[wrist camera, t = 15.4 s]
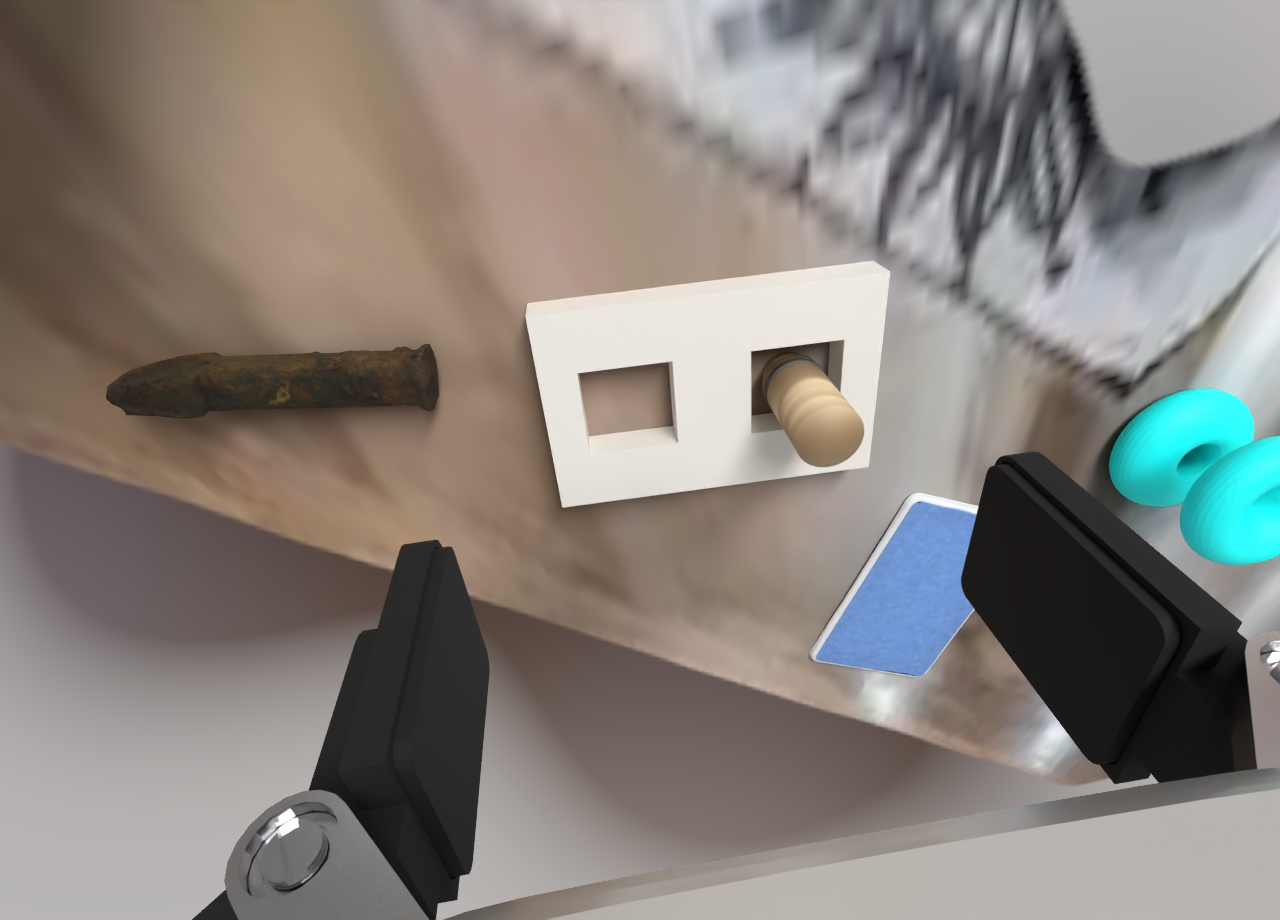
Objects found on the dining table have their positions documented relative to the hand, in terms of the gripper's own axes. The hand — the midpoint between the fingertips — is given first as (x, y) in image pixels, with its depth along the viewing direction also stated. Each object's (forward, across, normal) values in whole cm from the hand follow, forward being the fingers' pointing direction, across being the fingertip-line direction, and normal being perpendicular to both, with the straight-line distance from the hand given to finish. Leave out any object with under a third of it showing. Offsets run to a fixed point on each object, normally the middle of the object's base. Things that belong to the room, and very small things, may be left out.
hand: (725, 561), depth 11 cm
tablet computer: (+31, -23, +36) cm, 53 cm away
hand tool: (+32, +21, +9) cm, 39 cm away
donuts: (+30, -42, +23) cm, 56 cm away
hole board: (+31, -6, +13) cm, 34 cm away
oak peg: (+31, -11, +13) cm, 35 cm away
